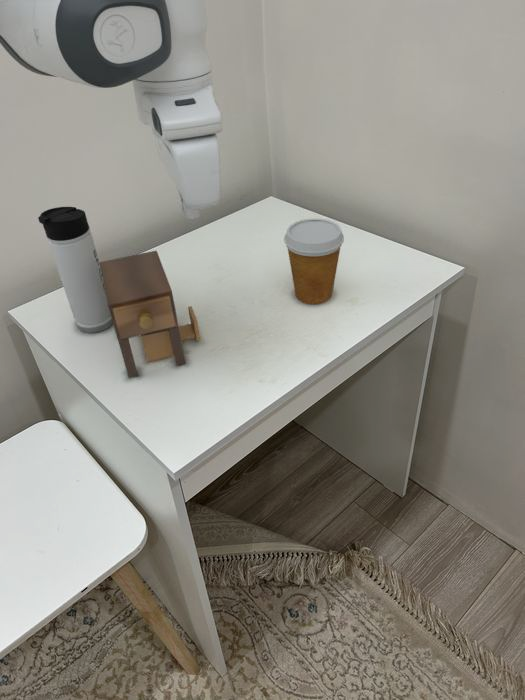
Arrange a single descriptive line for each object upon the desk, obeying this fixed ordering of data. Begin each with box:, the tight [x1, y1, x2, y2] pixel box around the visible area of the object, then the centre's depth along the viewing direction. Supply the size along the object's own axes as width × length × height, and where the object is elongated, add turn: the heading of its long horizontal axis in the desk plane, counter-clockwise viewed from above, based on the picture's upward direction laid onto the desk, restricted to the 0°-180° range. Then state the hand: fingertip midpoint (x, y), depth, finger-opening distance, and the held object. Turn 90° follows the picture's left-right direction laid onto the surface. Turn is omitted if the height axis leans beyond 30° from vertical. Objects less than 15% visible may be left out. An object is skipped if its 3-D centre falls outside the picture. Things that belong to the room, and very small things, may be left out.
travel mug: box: [37, 206, 113, 334], centre depth 84 cm, size 6×7×20 cm
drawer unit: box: [99, 250, 187, 379], centre depth 80 cm, size 8×14×13 cm, turn 18°
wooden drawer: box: [140, 305, 201, 363], centre depth 84 cm, size 9×7×5 cm
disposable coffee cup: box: [283, 218, 345, 305], centre depth 90 cm, size 10×10×12 cm
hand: (190, 214), depth 71 cm, fingers closed
